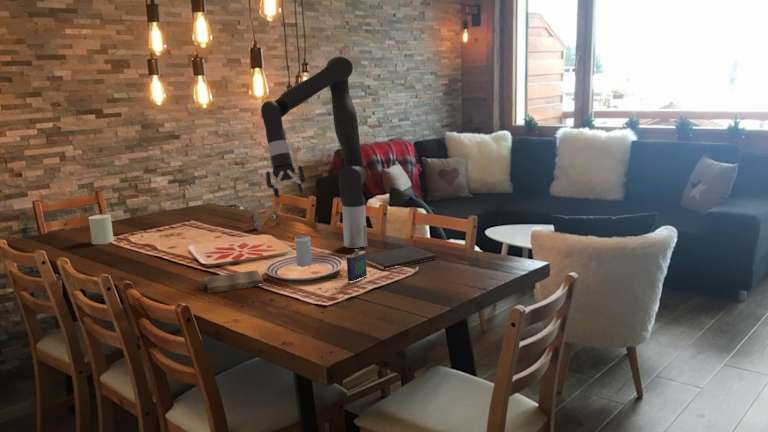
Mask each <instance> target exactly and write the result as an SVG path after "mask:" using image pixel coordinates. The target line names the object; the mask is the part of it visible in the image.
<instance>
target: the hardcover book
mask: <svg viewBox="0 0 768 432" xmlns="http://www.w3.org/2000/svg"><path fill="white" fill-rule="evenodd" d="M433 258H436V259H437V255H436V254H435V253H432V252H429V251H426V250H425V249H422V248H419V247H417V246H416V247H415V246H413V245H411V246H407V247H406V246H405V247H401V248H397V249H391V250H385V251H382V252H376V253H370V254H366V261H367V262H370V263H372V264H375V265H377V266H379V267H381V268H384V269H386V268H390V267H395V266H401V265H406V264H411V263H416V262H420V261H424V260H429V259H433Z"/></svg>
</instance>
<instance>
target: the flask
mask: <svg viewBox="0 0 768 432" xmlns="http://www.w3.org/2000/svg"><path fill="white" fill-rule="evenodd" d="M353 250H355V251H354V252H353V253H352V254H348V255H347V256H346V270H347V271H346V274H347V282H348V281H354V280H357V279H359V278H362V277H364V276H366V275H367V276H368V273H367V272H368V271H367V263H366V255H367V254H366V251H365V250H364V251H363V250H362V251H361V250H360V249H353Z"/></svg>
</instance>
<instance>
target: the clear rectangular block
mask: <svg viewBox="0 0 768 432" xmlns="http://www.w3.org/2000/svg"><path fill="white" fill-rule="evenodd" d="M249 220H250V226H251V227H252V228H253V229H254V230H259V231H260V230H263V229H268V228H270V227H273V226H275V225H276V223H277V221H278V214H277V211H276V210H275V209H274V208H266V209H261V210H258V211H255V212H253V213H252V214H251V215H250V219H249ZM267 227H268V228H267Z"/></svg>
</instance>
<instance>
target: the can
mask: <svg viewBox="0 0 768 432" xmlns="http://www.w3.org/2000/svg"><path fill="white" fill-rule="evenodd" d="M111 217H112V215H111V214H105V213H103V214H96V215H91V216H89V217H88V218H87V219H88V223H89V231H90V238H91V244H92V245H106V244H111V243H113V242H115V238H114V233H113V225H112V224H113V223H112V218H111ZM110 242H111V243H110Z"/></svg>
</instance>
